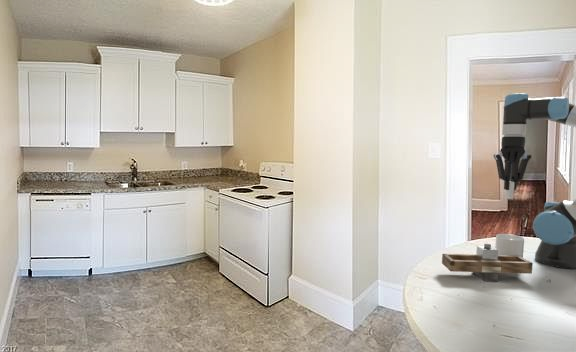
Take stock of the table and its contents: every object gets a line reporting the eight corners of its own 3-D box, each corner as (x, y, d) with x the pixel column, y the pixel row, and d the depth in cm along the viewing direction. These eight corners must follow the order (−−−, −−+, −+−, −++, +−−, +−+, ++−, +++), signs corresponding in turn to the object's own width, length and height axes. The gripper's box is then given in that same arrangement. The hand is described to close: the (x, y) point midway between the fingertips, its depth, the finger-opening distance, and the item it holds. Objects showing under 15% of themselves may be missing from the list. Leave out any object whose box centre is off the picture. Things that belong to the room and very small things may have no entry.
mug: (517, 272, 131) (520, 241, 130) (490, 265, 137) (492, 236, 136) (527, 264, 139) (529, 235, 138) (501, 259, 146) (503, 231, 144)
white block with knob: (490, 260, 128) (492, 242, 127) (497, 264, 123) (498, 246, 123) (476, 260, 128) (477, 242, 127) (481, 264, 123) (483, 246, 123)
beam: (516, 273, 130) (517, 254, 129) (532, 283, 121) (533, 263, 120) (441, 271, 131) (441, 252, 130) (450, 280, 122) (451, 261, 122)
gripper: (525, 136, 142) (521, 197, 144) (490, 136, 142) (486, 196, 145) (537, 136, 134) (532, 200, 137) (500, 135, 135) (496, 199, 137)
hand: (509, 198), depth 141 cm, fingers closed
